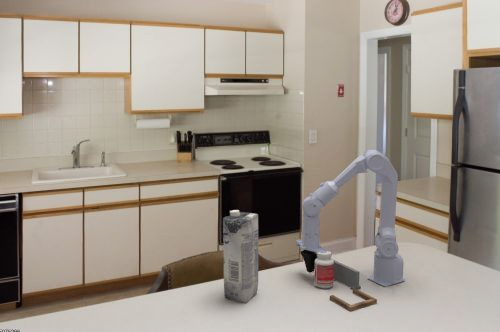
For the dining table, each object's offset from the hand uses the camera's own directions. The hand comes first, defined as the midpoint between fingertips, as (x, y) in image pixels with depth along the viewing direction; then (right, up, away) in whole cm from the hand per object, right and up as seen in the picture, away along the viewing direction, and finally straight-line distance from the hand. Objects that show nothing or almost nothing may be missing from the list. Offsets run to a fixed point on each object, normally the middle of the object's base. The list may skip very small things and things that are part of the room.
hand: (310, 271), depth 158 cm
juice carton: (-23, -5, -13) cm, 27 cm away
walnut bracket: (+10, -5, -17) cm, 20 cm away
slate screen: (+10, -3, -3) cm, 11 cm away
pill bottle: (+4, -3, -6) cm, 8 cm away
